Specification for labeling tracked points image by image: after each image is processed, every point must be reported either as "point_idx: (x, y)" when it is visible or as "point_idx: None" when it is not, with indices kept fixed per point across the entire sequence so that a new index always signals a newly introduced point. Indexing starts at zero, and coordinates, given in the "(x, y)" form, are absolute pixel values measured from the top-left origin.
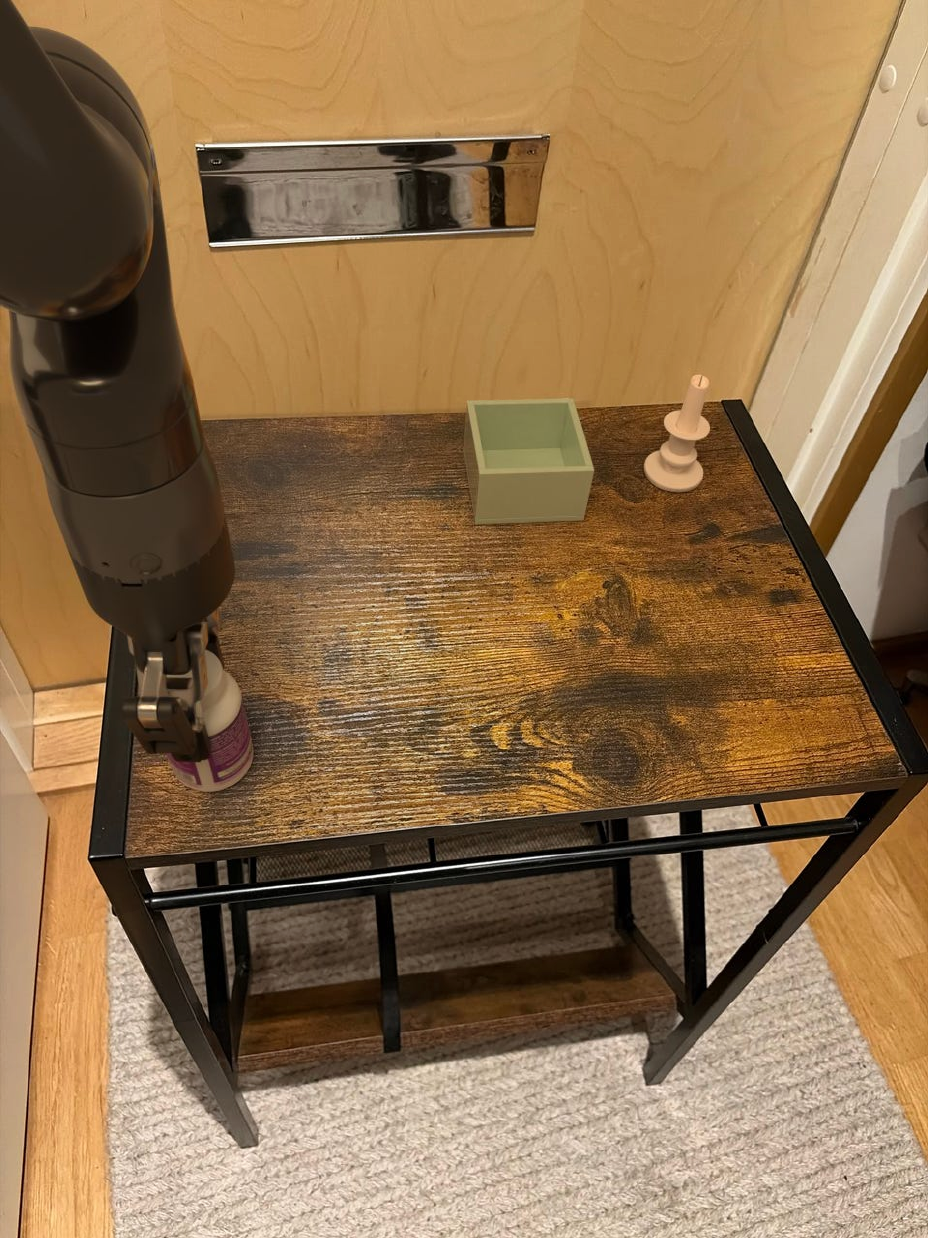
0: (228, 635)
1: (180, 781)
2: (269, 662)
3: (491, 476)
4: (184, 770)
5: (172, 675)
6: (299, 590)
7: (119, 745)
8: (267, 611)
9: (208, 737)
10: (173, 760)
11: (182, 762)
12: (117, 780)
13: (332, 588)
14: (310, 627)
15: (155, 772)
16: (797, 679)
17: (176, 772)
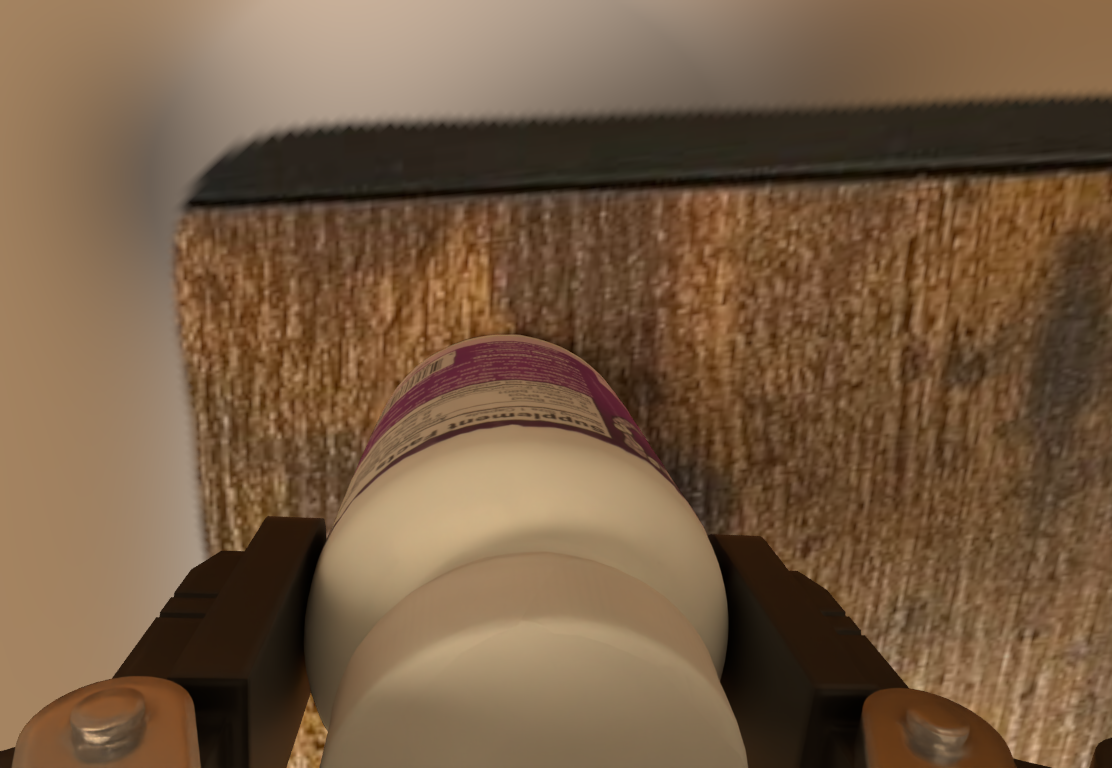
0: (972, 457)
1: (410, 372)
2: (844, 583)
3: None
4: (367, 444)
5: (523, 744)
6: (1098, 647)
7: (580, 142)
8: (1040, 564)
9: (300, 720)
10: (388, 418)
11: (356, 469)
12: (439, 152)
13: (1082, 733)
14: (951, 685)
15: (465, 277)
16: None
17: (407, 383)
